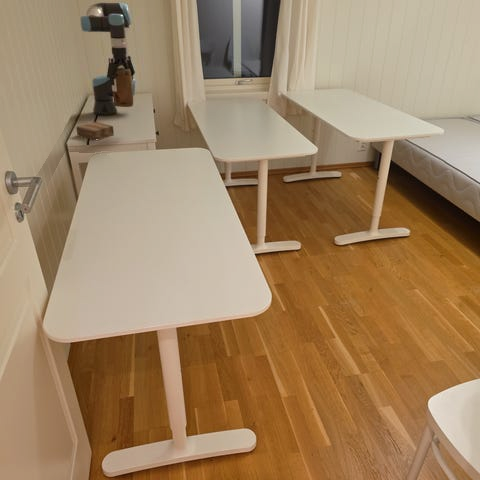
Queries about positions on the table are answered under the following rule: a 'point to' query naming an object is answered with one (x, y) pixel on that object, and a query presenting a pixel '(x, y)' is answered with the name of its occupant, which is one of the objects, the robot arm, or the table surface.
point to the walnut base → (95, 130)
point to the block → (123, 88)
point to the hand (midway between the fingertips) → (122, 89)
